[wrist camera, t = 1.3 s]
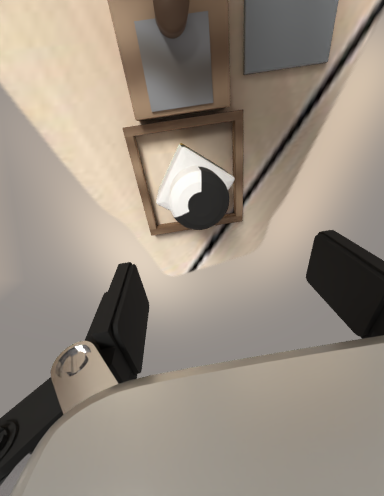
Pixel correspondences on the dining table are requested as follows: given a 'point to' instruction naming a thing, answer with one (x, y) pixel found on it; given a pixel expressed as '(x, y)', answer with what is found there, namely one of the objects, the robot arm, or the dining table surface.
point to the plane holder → (177, 78)
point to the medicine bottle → (195, 189)
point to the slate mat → (287, 33)
